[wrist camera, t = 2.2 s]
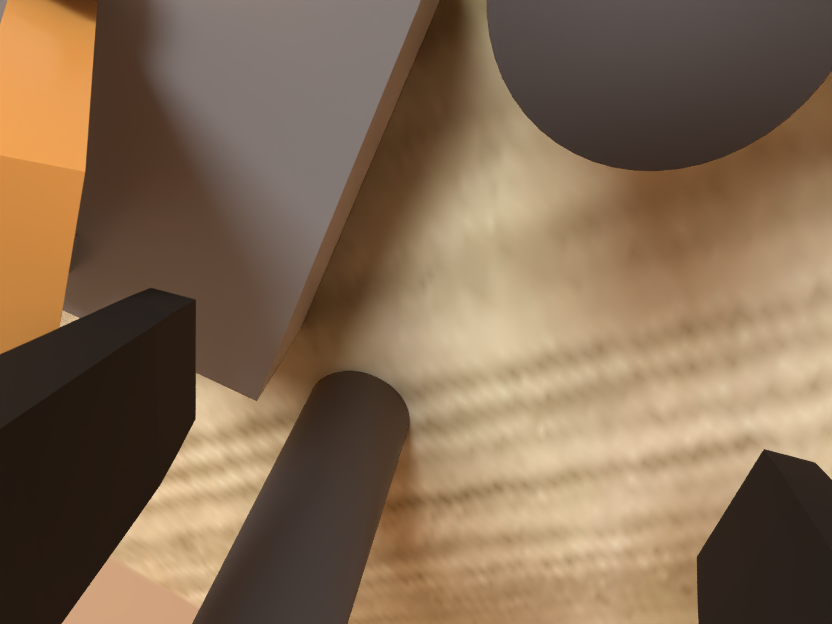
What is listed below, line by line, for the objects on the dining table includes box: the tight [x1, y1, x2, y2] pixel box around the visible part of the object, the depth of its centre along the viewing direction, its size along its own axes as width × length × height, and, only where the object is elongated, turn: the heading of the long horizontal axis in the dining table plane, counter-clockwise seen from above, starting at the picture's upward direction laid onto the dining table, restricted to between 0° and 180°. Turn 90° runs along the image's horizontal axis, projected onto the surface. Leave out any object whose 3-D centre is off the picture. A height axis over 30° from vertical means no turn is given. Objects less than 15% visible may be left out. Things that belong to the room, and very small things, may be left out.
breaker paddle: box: [0, 0, 97, 354], centre depth 9 cm, size 1×4×4 cm
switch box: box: [0, 0, 440, 401], centre depth 12 cm, size 9×8×4 cm
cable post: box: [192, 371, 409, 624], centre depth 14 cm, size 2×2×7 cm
